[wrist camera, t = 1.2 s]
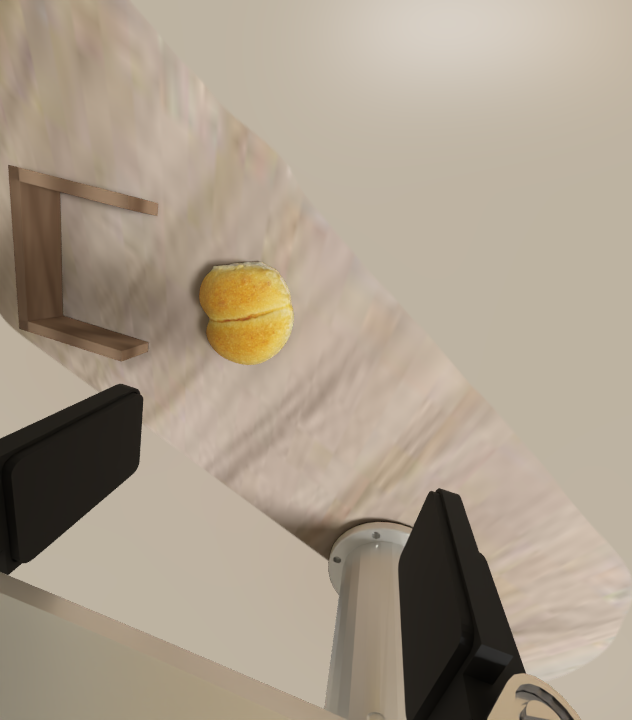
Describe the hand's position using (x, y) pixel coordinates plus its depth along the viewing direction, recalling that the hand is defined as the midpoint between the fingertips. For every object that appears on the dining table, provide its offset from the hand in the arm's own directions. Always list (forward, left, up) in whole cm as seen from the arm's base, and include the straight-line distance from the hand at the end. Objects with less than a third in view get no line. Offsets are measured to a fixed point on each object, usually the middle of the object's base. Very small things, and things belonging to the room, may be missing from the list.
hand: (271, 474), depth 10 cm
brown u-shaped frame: (+24, 0, -19) cm, 31 cm away
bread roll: (+9, 0, -20) cm, 22 cm away
